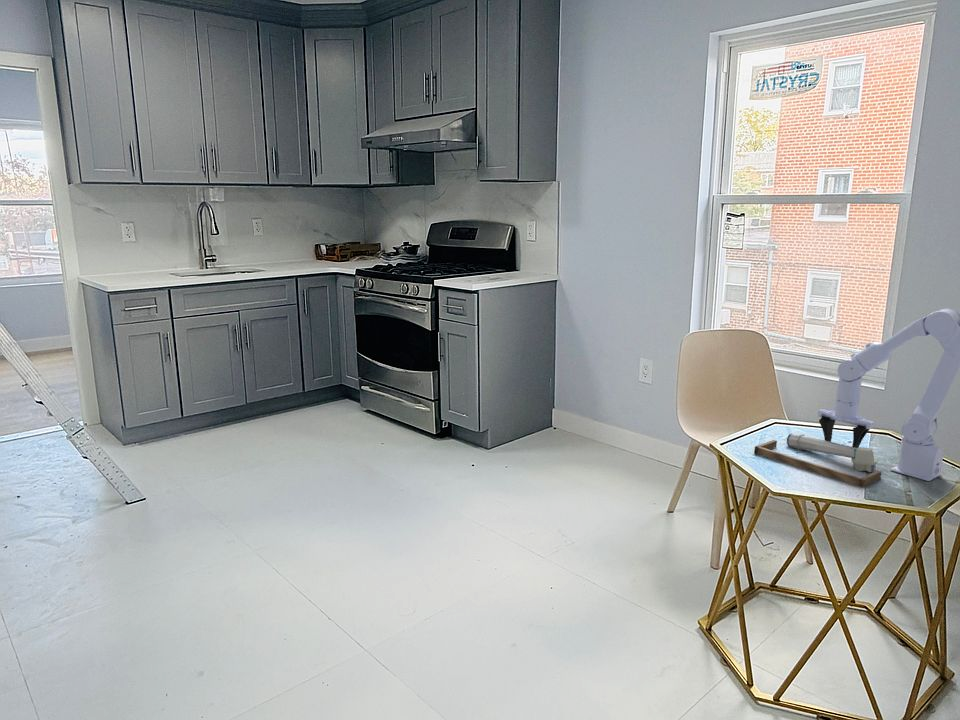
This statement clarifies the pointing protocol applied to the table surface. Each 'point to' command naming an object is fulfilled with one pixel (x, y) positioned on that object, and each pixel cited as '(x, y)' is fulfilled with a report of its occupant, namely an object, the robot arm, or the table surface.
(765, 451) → the walnut bay
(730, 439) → the table surface
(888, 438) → the table surface
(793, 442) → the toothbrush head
